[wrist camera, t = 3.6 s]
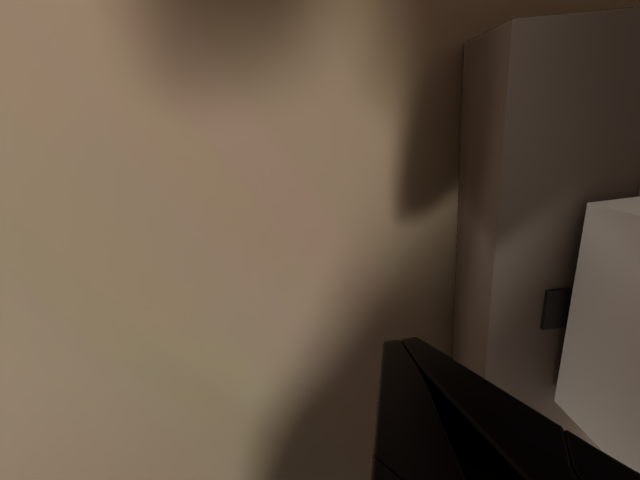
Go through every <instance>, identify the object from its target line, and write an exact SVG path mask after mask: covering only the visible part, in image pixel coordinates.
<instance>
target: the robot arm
mask: <svg viewBox="0 0 640 480" xmlns="http://www.w3.org/2000/svg"><path fill="white" fill-rule="evenodd" d="M371 480H640V473H639V472H637V471H635V470H633V469H631V468H630V467H628V466H626V465H625V464H623V463H621V462H620V461H618V460H616V459H615V458H613V457H611V456H610V455H608V454H606V453H605V452H603V451H601V450H600V449H598V448H596V447H594V446H593V445H591V444H590V443H588V442H586V441H585V440H583V439H581V438H580V437H578V436H577V435H575V434H573V433H572V432H570V431H568V430H565V431H564V429H563V427H562V426H560V425H559V424H557V423H555V422H554V421H552V420H551V419H549V418H547V417H546V416H544V415H542V414H541V413H539V412H538V411H536V410H534V409H533V408H531V407H530V406H528V405H526V404H525V403H523V402H521V401H520V400H518V399H517V398H515V397H513V396H512V395H510V394H509V393H507V392H505V391H504V390H502V389H501V388H499V387H497V386H496V385H494V384H492V383H491V382H489V381H488V380H486V379H484V378H483V377H481V376H480V375H478V374H476V373H475V372H473V371H472V370H470V369H468V368H467V367H465V366H463V365H462V364H460V363H459V362H457V361H455V360H454V359H452V358H451V357H449V356H447V355H446V354H444V353H442V352H441V351H439V350H438V349H436V348H434V347H433V346H431V345H430V344H428V343H426V342H425V341H423V340H422V339H420V338H418V337H412V338H405V339H402V340H401V341H400V340H391V341H385V342H383V344H382V355H381V367H380V379H379V390H378V402H377V414H376V425H375V437H374V448H373V461H372V469H371Z"/></svg>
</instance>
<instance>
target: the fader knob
mask: <svg viewBox="0 0 640 480" xmlns="http://www.w3.org/2000/svg"><path fill="white" fill-rule="evenodd" d="M554 401H555V402H556V403H557V404H558V405H559V406H560V407H561V409H562V410H563V411H564V412H565V413H566V414H567V415H568V416H569V417H570V418H571V419H572V420H573V421H574V422H575V423H576V424H577V425H578V426H579V427H580V428H581V429H582V430H583V431H584V432H585V433H586V435H587V436H588V437H589V438H590V439H591V440H592V441H593V442H594V443H595V444H596V445H597V446H598V447H599V448H600V449H601V450H602V451H603V452H605V453H606V454H608V455H610V456H611V457H613V458H615V459H616V460H618V461H620V462H621V463H623V464H625V465H626V466H628V467H630V468H631V469H633V470H635V471H637V472H639V473H640V196H639V197H631V198H622V199H614V200H606V201H597V202H589V203H587V207H586V213H585V219H584V225H583V231H582V237H581V243H580V249H579V255H578V261H577V267H576V273H575V279H574V285H573V291H572V297H571V303H570V309H569V315H568V321H567V327H566V333H565V339H564V345H563V351H562V357H561V363H560V369H559V375H558V381H557V387H556V393H555V399H554Z"/></svg>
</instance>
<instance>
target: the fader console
mask: <svg viewBox="0 0 640 480" xmlns="http://www.w3.org/2000/svg"><path fill="white" fill-rule="evenodd" d="M639 196H640V6H638V7H628V8H618V9H607V10H597V11H586V12H576V13H566V14H555V15H545V16H535V17H524V18H514V19H511V20H509V21H507V22H505V23H503V24H501V25H499V26H497V27H495V28H493V29H491V30H489V31H487V32H485V33H483V34H481V35H479V36H477V37H475V38H473V39H471V40H469V41H467V42H465V43H464V61H463V88H462V116H461V143H460V170H459V197H458V225H457V252H456V279H455V307H454V334H453V359H454V360H455V361H457V362H459V363H460V364H462V365H463V366H465V367H467V368H468V369H470V370H472V371H473V372H475V373H476V374H478V375H480V376H481V377H483V378H484V379H486V380H488V381H489V382H491V383H492V384H494V385H496V386H497V387H499V388H501V389H502V390H504V391H505V392H507V393H509V394H510V395H512V396H513V397H515V398H517V399H518V400H520V401H521V402H523V403H525V404H526V405H528V406H530V407H531V408H533V409H534V410H536V411H538V412H539V413H541V414H542V415H544V416H546V417H547V418H549V419H551V420H552V421H554V422H555V423H557V424H559V425H560V426H562V427H563V429H564V431H565V430H568V431H570V432H572V433H573V434H575V435H577V436H578V437H580V438H581V439H583V440H585V441H586V442H588V443H590V444H591V445H593V446H594V447H596V448H598V449H600V448H599V447H598V446H597V445H596V444H595V443H594V442H593V441H592V440H591V439H590V438H589V437H588V436H587V435H586V433H585V432H584V431H583V430H582V429H581V428H580V427H579V426H578V425H577V424H576V423H575V422H574V421H573V420H572V419H571V418H570V417H569V416H568V415H567V414H566V413H565V412H564V411H563V410H562V409H561V407H560V406H559V405H558V404H557V403H556V402H555V401H554V399H555V393H556V387H557V381H558V375H559V369H560V363H561V357H562V351H563V345H564V339H565V333H566V327H567V321H568V315H569V309H570V303H571V297H572V291H573V285H574V279H575V273H576V267H577V261H578V255H579V249H580V243H581V237H582V231H583V225H584V219H585V213H586V207H587V203H589V202H597V201H606V200H614V199H622V198H631V197H639ZM600 450H601V449H600ZM601 451H602V450H601Z"/></svg>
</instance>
